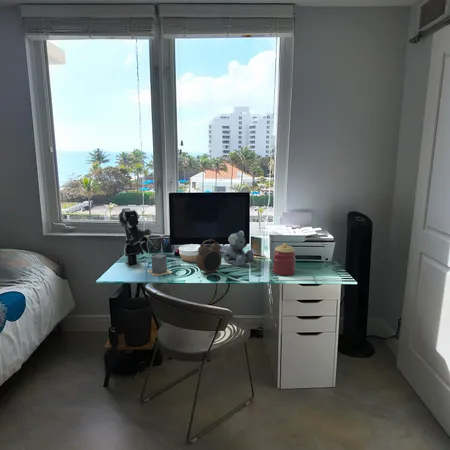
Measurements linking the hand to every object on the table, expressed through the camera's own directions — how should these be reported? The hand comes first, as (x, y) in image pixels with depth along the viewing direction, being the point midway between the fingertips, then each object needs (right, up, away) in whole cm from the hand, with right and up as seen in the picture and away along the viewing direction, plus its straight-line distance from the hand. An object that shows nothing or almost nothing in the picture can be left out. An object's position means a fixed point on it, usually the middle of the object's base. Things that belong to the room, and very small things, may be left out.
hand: (145, 253), depth 207 cm
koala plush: (+54, -7, +18) cm, 58 cm away
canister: (+81, -11, -1) cm, 82 cm away
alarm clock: (+38, -11, -3) cm, 40 cm away
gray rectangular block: (+9, -10, -2) cm, 14 cm away
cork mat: (+9, -11, -2) cm, 14 cm away
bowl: (+25, -6, +23) cm, 34 cm away
